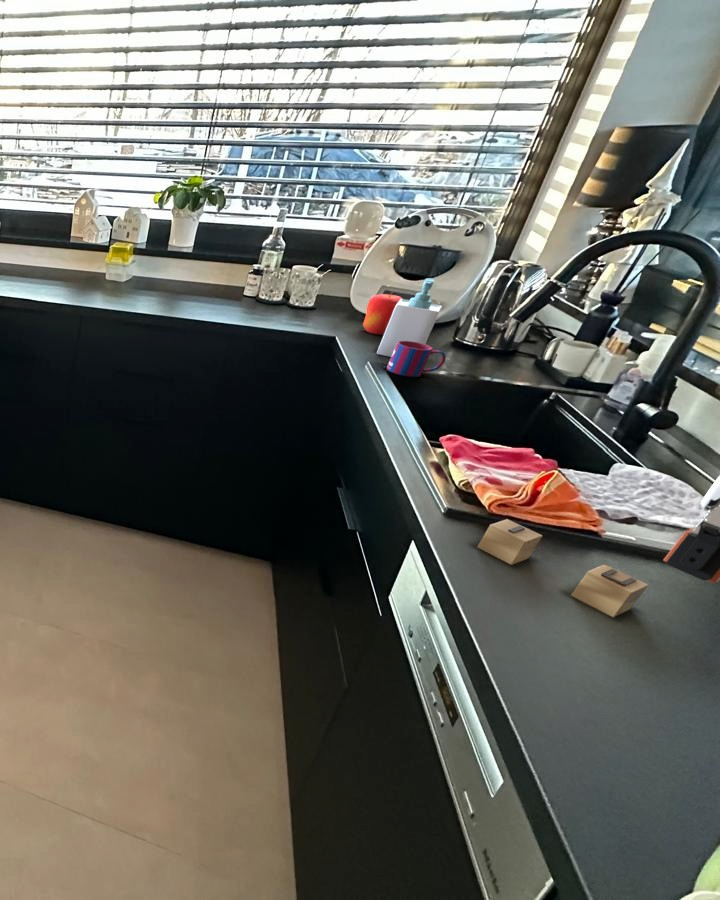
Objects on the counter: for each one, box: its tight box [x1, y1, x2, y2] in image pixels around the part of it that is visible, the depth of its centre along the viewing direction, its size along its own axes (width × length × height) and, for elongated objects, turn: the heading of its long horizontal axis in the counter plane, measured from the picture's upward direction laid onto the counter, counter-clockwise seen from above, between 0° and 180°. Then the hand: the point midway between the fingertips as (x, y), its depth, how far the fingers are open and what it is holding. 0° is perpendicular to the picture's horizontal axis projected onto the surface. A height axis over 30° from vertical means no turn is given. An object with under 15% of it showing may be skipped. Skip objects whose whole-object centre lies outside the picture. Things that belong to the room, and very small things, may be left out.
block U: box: [570, 564, 649, 618], centre depth 74 cm, size 4×4×4 cm
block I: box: [477, 518, 543, 566], centre depth 82 cm, size 4×4×4 cm
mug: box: [386, 341, 447, 378], centre depth 145 cm, size 7×10×7 cm
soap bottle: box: [376, 277, 442, 358], centre depth 155 cm, size 9×9×19 cm
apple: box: [362, 291, 404, 336], centre depth 175 cm, size 9×8×12 cm
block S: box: [663, 526, 720, 584], centre depth 66 cm, size 4×4×4 cm
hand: (698, 565), depth 67 cm, fingers closed on block S, 4 cm apart
